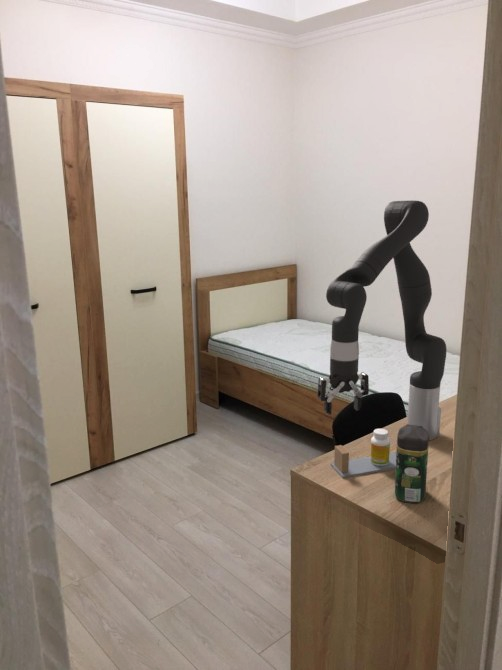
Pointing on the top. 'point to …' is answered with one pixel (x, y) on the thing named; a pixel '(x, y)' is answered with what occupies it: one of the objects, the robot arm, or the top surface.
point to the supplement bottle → (380, 448)
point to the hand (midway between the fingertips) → (342, 411)
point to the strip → (358, 464)
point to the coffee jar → (411, 463)
